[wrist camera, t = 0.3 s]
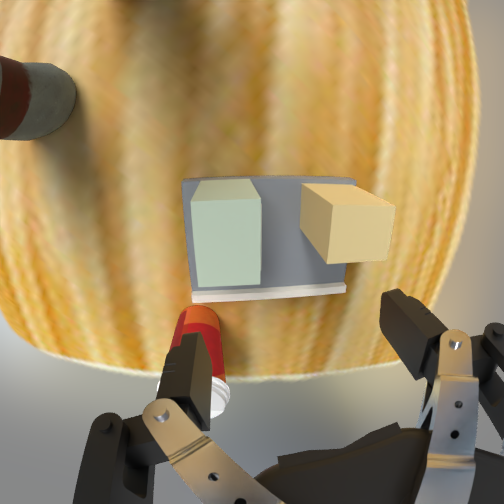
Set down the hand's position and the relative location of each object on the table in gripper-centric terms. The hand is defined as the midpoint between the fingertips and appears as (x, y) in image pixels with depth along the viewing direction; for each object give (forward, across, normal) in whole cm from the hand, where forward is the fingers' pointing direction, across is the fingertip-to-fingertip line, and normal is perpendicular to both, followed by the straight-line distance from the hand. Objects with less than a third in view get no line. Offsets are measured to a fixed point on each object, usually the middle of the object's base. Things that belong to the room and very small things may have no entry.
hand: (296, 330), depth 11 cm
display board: (+22, -1, +2) cm, 22 cm away
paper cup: (+22, +10, +13) cm, 28 cm away
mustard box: (+20, -8, 0) cm, 21 cm away
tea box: (+19, +3, -1) cm, 20 cm away
